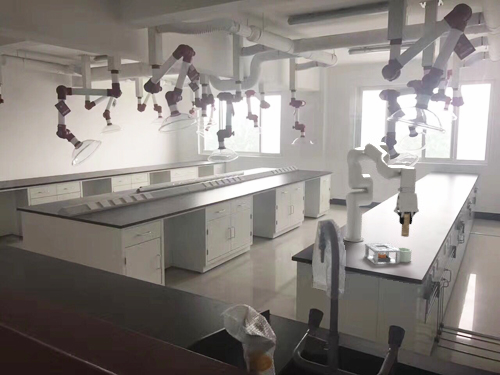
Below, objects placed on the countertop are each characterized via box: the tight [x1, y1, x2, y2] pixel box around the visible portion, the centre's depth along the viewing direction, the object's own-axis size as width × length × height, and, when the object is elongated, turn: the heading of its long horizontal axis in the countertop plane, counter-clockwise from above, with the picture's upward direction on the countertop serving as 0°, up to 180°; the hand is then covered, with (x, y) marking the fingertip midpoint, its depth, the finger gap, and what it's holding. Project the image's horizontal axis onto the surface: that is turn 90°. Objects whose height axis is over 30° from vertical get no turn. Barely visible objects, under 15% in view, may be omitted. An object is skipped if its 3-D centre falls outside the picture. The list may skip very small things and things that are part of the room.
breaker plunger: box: [378, 253, 386, 258], centre depth 219 cm, size 5×5×3 cm
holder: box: [397, 247, 413, 263], centre depth 218 cm, size 7×7×6 cm
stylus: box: [400, 212, 410, 238], centre depth 215 cm, size 4×4×13 cm
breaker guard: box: [364, 242, 401, 265], centre depth 218 cm, size 14×14×7 cm
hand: (405, 223), depth 215 cm, fingers closed on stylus, 3 cm apart
